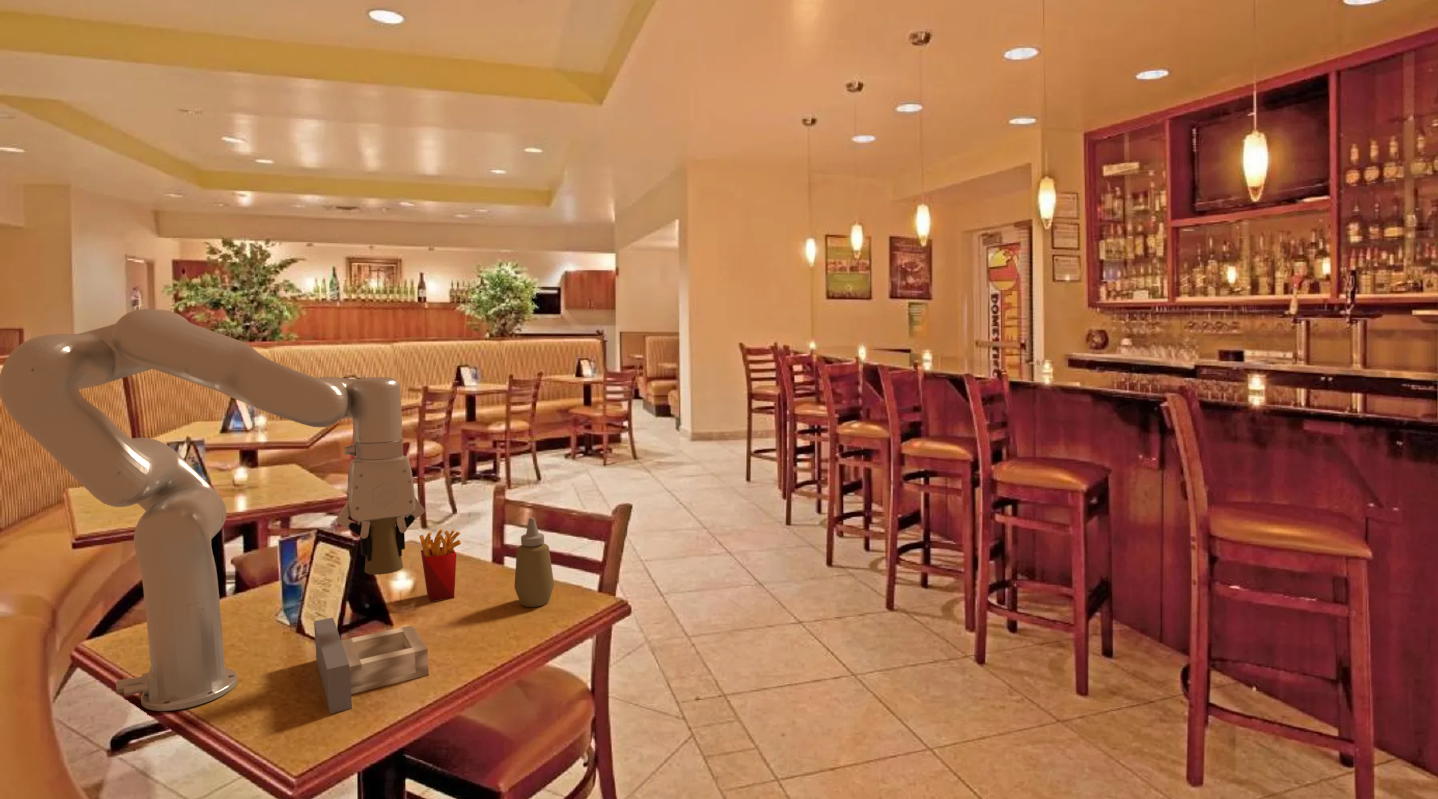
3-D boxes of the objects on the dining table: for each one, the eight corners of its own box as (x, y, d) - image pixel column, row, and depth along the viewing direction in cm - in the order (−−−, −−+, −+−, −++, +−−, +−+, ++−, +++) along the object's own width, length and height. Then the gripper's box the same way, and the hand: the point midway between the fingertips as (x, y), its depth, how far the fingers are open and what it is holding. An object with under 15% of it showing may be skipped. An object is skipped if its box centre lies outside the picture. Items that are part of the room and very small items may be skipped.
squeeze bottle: (537, 593, 164) (534, 511, 162) (562, 600, 160) (560, 517, 158) (506, 604, 158) (503, 519, 156) (532, 613, 153) (529, 525, 151)
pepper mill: (389, 575, 126) (387, 510, 125) (356, 573, 127) (353, 509, 126) (410, 564, 132) (407, 502, 131) (378, 562, 133) (375, 500, 132)
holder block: (349, 694, 120) (347, 667, 120) (340, 666, 130) (338, 640, 130) (428, 675, 126) (427, 649, 126) (414, 649, 136) (412, 625, 136)
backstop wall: (330, 713, 114) (327, 669, 113) (316, 659, 133) (313, 621, 132) (352, 708, 116) (349, 664, 115) (335, 655, 134) (333, 617, 133)
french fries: (421, 594, 164) (418, 526, 163) (461, 587, 168) (458, 521, 167) (427, 607, 157) (423, 536, 155) (468, 600, 160) (465, 530, 159)
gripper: (326, 458, 120) (332, 571, 122) (436, 449, 129) (439, 553, 131) (320, 452, 126) (325, 559, 128) (425, 443, 135) (428, 543, 137)
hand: (383, 555), depth 129 cm, fingers closed on pepper mill, 4 cm apart
